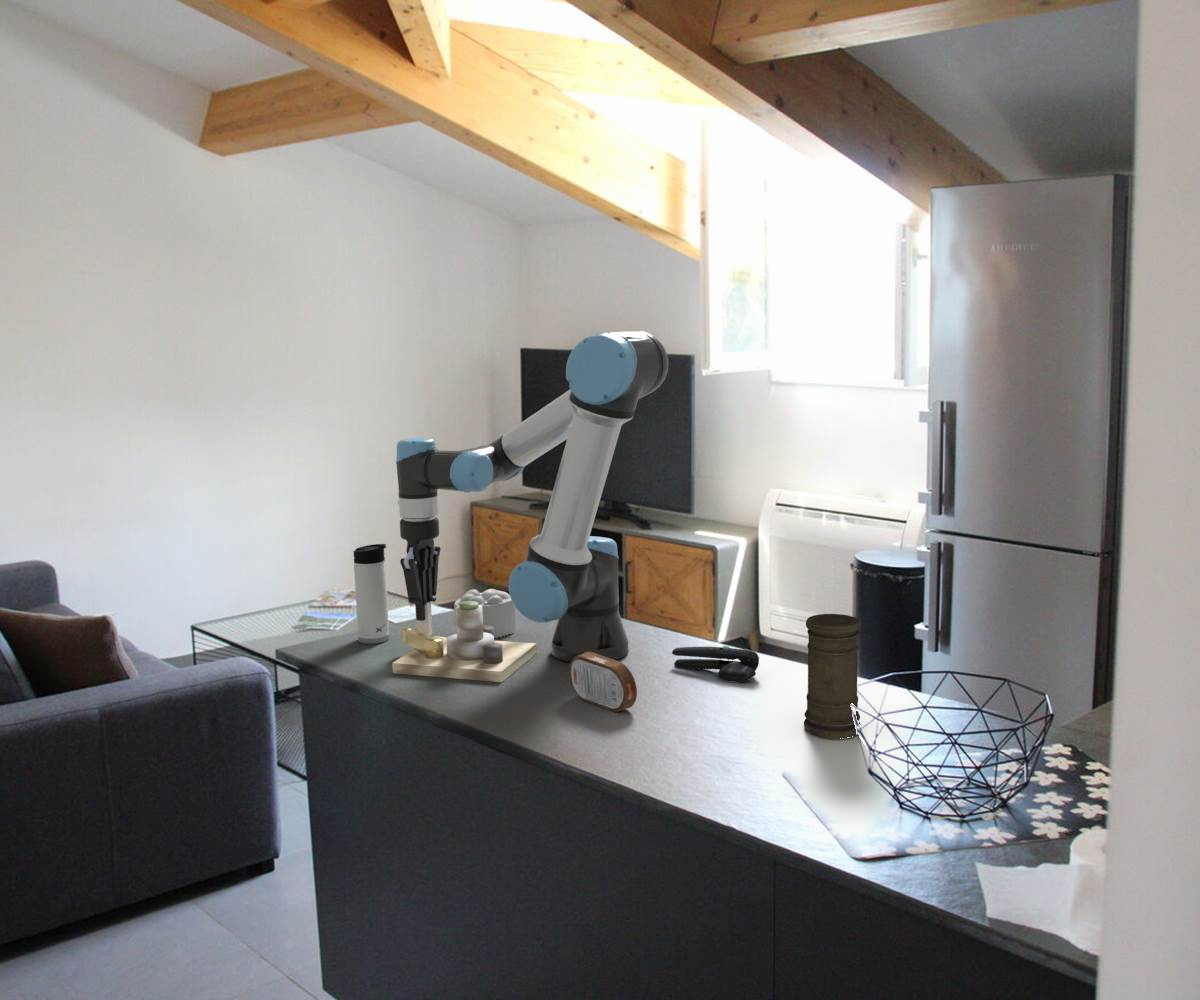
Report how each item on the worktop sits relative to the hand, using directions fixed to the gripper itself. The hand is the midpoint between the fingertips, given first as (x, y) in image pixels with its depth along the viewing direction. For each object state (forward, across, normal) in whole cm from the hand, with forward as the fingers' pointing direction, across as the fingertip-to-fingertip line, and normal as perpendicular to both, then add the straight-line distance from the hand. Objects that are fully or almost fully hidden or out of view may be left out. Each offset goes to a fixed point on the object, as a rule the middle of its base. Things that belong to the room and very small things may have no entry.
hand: (424, 634), depth 230 cm
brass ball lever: (+1, +6, +2) cm, 6 cm away
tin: (+4, +20, +44) cm, 48 cm away
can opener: (+4, -1, +58) cm, 58 cm away
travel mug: (+4, -5, -14) cm, 15 cm away
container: (+4, +22, +82) cm, 85 cm away
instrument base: (+3, +5, +11) cm, 13 cm away
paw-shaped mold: (+4, -15, +6) cm, 17 cm away
